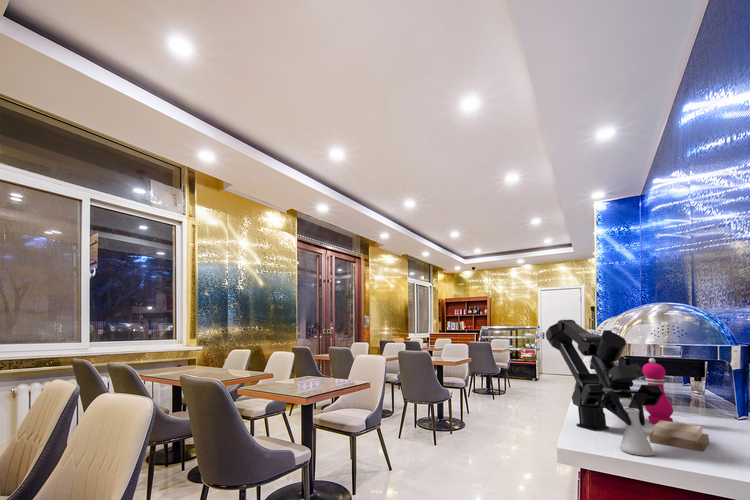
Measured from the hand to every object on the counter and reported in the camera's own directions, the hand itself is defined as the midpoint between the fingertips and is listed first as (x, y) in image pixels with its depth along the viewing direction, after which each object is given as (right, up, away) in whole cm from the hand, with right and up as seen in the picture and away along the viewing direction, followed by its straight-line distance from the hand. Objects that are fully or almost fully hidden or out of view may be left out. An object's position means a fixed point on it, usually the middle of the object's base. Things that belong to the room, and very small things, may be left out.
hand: (637, 424), depth 94 cm
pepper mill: (+26, -12, +27) cm, 39 cm away
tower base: (+17, -8, +7) cm, 20 cm away
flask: (0, -7, 0) cm, 7 cm away
